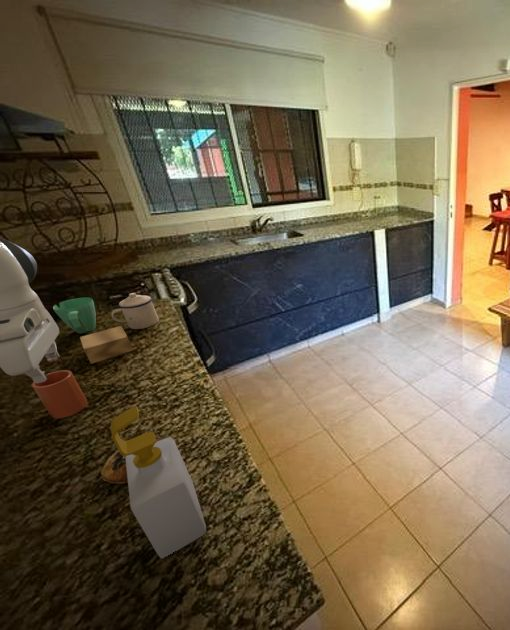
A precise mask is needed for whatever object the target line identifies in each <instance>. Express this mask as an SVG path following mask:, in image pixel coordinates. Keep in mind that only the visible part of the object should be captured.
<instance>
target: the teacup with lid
mask: <svg viewBox="0 0 510 630" xmlns="http://www.w3.org/2000/svg"><path fill="white" fill-rule="evenodd" d="M118 307H119V308H117V309H114V310H112V311H111V315H110V316H111V318H112V320H114V321H115V322H117V323H120V324H121V323H127V325H128V326H127V327H128V328H129V329H130V330H131V329H132V330H141V329H142V330H143V329H148V328H151V327H152V326H155V325H156V324H158V323H159V321H160V318H159V316H158V314H157V311H156V308H155V306H154V303H153V299H152V297H151V296H150V295H141V294H137V293H136V292H131V293H129V294H128V296H127V297H126V298H125V299H123V300H121V301H120V302H119V303H118ZM119 312H122V314H123V317H124V318H125V319H119V318H117V317H116V316H115V314H116V313H119Z"/></svg>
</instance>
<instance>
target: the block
mask: <svg viewBox="0 0 510 630" xmlns="http://www.w3.org/2000/svg"><path fill="white" fill-rule="evenodd" d="M79 339H80V342H81V345H82V348H83V351H84V353H85V355H86V357H87V359H88V361H89V363H90V364H95V363H98V362H101V361H105V360H108V359H110V358H114V357H117V356H120V355H124V354H127V353H130V352H133V351H134V348H133V346H132V343H131V342H130V339H129V337H128V335H127V333H126V332H125V330H124V328H123V326H122V325H119V326H115V327H111V328H108V329H104V330H101V331H96V332H93V333H89V334H85V335H82V336H80V337H79Z"/></svg>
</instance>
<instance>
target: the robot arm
mask: <svg viewBox="0 0 510 630" xmlns="http://www.w3.org/2000/svg"><path fill="white" fill-rule="evenodd" d="M37 272H38V263H37V261H36V259H35V258H34V256H33V255H32V254H31V253H30V252H28V251H27V250H26V249H24V248H23V247H21V246H19V245H17V244H16V243H13V242H11V241H9V240H8V239H6V238H3V237H2V236H0V369H1V370H2V371H3V372H4V373H5V374H7V375H8V376H11V377H17V376H21V375H26V376H28V377H29V378H31V380H32V381H33V382H35V383H41V382H45V381H46V379H47V377H48V376H47V375H46V374H47V373H46V371H44V370H43V371H42V370H41V369H40V368H41V365H40V363H41V361H42V360H43V359H44V357H45V359H46V360H47V362H49V363H53V362H57V361H58V360H59V359H60V357H61V356H60V354H59V352H58V349H57V343H56V341H55V340H56V339H57V337H58V336H59V335H60V328H59V326H58V324H57V323H56V321H55V320H54V318H53V317H52V315H51V314H50V312H49V311H48V310H47V308H45V306H44V304H43V302H42V301H41V299H40V297H39V296H38V294H37V293H36V292H35V291H34V290H33V289H32V288H31V286H30V284H31V283H33V281H34V280H35V278H36V276H37Z"/></svg>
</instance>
